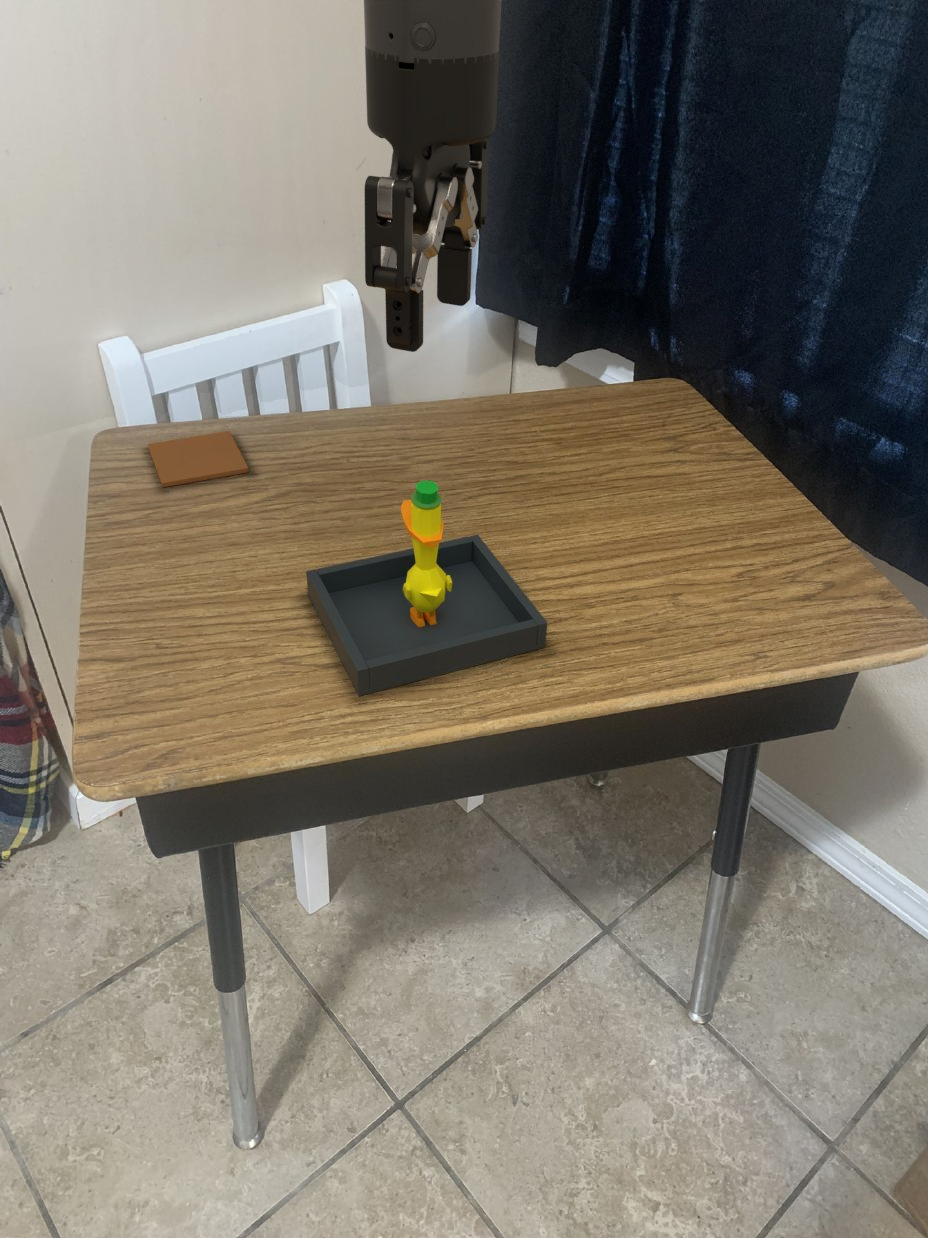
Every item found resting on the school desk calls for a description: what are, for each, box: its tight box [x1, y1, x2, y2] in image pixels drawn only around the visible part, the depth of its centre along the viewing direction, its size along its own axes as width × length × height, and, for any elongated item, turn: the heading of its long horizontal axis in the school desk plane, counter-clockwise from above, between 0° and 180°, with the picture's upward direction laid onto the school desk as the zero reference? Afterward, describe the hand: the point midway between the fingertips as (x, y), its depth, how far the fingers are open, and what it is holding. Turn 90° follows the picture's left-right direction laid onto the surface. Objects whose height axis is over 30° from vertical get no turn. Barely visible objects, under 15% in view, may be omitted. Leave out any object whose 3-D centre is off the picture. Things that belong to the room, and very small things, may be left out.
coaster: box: [147, 430, 250, 488], centre depth 93 cm, size 8×8×1 cm
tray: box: [305, 534, 548, 697], centre depth 74 cm, size 15×13×2 cm
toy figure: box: [400, 480, 452, 627], centre depth 71 cm, size 7×4×12 cm, turn 20°
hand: (430, 324), depth 64 cm, fingers open, 8 cm apart
